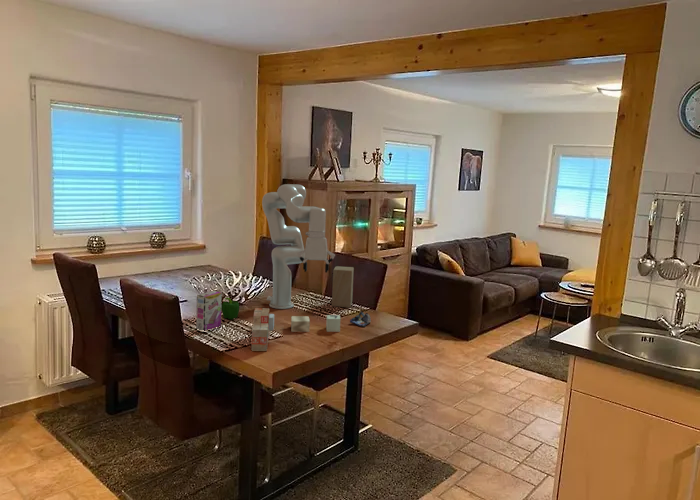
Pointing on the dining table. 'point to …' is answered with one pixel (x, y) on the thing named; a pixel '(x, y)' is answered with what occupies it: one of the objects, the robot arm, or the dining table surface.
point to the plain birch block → (300, 323)
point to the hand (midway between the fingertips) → (315, 271)
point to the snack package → (361, 319)
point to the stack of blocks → (260, 329)
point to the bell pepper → (230, 309)
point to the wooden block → (342, 286)
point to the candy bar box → (209, 310)
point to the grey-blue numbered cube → (271, 321)
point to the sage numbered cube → (333, 323)
